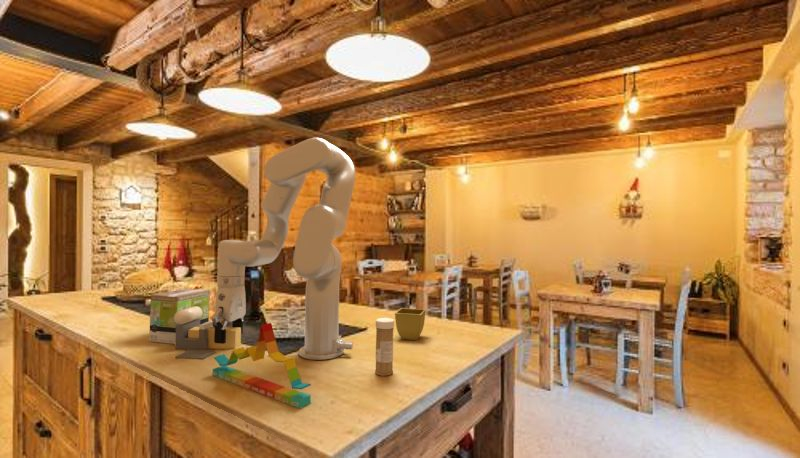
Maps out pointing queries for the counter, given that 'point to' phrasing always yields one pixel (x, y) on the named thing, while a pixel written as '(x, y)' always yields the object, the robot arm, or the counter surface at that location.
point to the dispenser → (187, 321)
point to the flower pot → (410, 322)
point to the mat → (195, 354)
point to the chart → (260, 384)
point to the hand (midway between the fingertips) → (228, 338)
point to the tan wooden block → (231, 343)
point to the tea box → (174, 312)
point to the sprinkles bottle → (384, 346)
